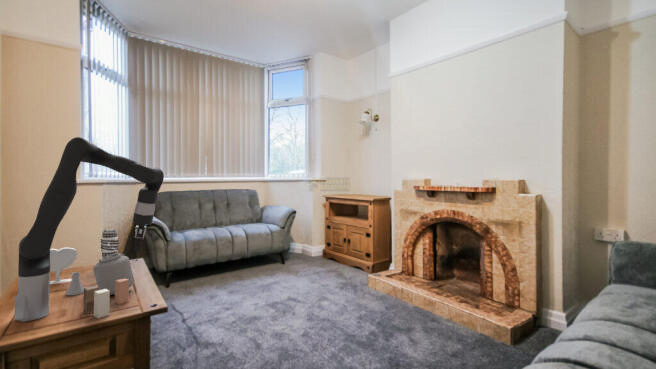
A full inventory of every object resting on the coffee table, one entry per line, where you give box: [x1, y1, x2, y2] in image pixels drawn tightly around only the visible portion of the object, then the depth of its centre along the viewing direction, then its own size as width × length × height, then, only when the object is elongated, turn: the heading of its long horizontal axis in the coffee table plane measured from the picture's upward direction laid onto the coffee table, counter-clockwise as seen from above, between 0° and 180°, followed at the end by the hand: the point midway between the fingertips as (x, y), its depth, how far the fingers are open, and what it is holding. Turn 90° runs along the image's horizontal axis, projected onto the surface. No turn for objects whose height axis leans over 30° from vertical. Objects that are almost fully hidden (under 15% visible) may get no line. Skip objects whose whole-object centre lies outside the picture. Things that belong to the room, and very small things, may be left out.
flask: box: [64, 271, 85, 296], centre depth 149 cm, size 7×7×10 cm
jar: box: [92, 244, 135, 296], centre depth 150 cm, size 19×15×25 cm
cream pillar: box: [93, 289, 111, 319], centre depth 126 cm, size 4×4×10 cm
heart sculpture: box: [50, 246, 78, 285], centre depth 164 cm, size 16×5×18 cm, turn 134°
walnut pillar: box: [82, 285, 99, 315], centre depth 129 cm, size 4×4×10 cm
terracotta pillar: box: [114, 278, 130, 305], centre depth 140 cm, size 4×4×10 cm
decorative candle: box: [100, 228, 120, 258], centre depth 188 cm, size 9×9×25 cm
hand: (137, 248), depth 134 cm, fingers open, 8 cm apart
